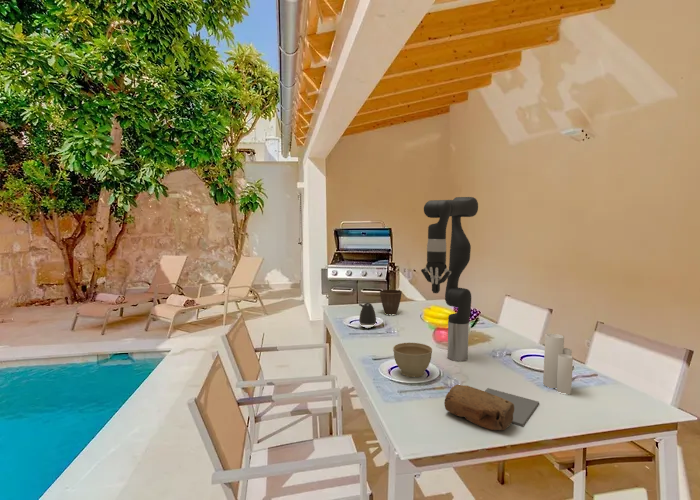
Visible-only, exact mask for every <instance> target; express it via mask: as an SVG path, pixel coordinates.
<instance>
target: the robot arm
mask: <svg viewBox="0 0 700 500" xmlns="http://www.w3.org/2000/svg"><path fill="white" fill-rule="evenodd" d="M478 211H479V203H478V200H477V198H475V197H474V196H455V197H454V198H453V199H438V200H437V199H436V200H434V199H433V200H428V201H427V202H425V204H424V206H423V213H424V215H425V217H427V218H430V219H438V221H437V222H436V223H432V224H429V225H428V227H427V244H426V264H425V267H424V268H422V269H421V270H420V271H421V273H422V274H423V276H424V278H425V280H426V281H427V282H428V283H431V291H432V293H433V294H439V293H440V291H441V284H444V283H445V282H446V287H445V293H444V300H445V303H446V304H447V306H449V307H455V308H457V312H455V313H451V314H449V315H448V319H447V320H448V322H447V324H448V325H447V354H446V355H447V358H448V360H452V361H454V362H465V361H467V360H468V357H469V355H468V354H469V330H470V329H469V328H470V327H469V326H470V325H469V324H470V317H471V310H472V309H471V307H472V293H471V291H470V290H469V289H468V288H464V287H459V281H460V276H461V274H462V273H463V272H464V270H465V268H466V267H467V266H468V264H469V263H470V260H471V246H472V245H471V243H470V241H469V238H468V237H467V235H466V233H465V231H464V230H463V229H464V228H463V226H462V218H472V217H475V216H476V215H477V213H478ZM450 217H451V233H450V234H451V235H450V247H449V258H448V259H449V264H448V266H447V241H446V240H447V227H448V223H449V220H450ZM447 267H448V268H447ZM442 275H443V276H442Z"/></svg>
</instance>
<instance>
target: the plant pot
mask: <svg viewBox="0 0 700 500" xmlns="http://www.w3.org/2000/svg"><path fill="white" fill-rule="evenodd" d="M379 293H380V295H379V296H380V301H381V305H382V308H383V311H384V314H385V313H386V314H396V315H397V314H398V311H399V307H400V303H401V299H402V295H403V294H402V293H403V291H402V290H399V289H398V290H397V289H382V290H379ZM386 314H385V315H386Z"/></svg>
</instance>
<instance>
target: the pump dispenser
mask: <svg viewBox="0 0 700 500" xmlns="http://www.w3.org/2000/svg"><path fill="white" fill-rule="evenodd" d="M358 305H359V307H361V309H360V313H359V320H358V321H359V325H360V324H361V325H374V324H375V325H376V323H377V316H376V312H375V308H374V306H373V304H372V303H370V302H365V303H364V304H363V303H359V304H358ZM361 325H360V326H361Z"/></svg>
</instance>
